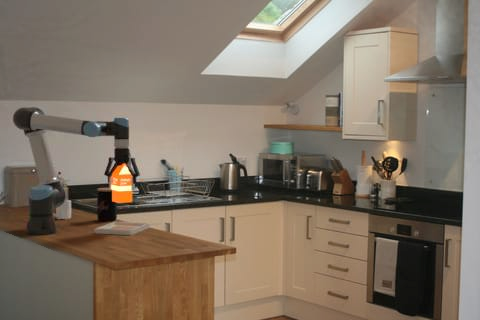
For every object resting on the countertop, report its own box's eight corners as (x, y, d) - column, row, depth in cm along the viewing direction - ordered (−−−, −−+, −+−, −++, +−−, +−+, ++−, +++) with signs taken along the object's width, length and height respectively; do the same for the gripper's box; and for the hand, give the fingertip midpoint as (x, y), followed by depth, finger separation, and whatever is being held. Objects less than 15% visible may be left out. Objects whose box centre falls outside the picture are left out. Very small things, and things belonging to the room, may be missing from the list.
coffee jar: (93, 220, 392) (93, 188, 391) (109, 218, 400) (108, 187, 399) (105, 222, 385) (104, 190, 384) (120, 220, 393) (120, 188, 392)
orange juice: (118, 203, 353) (118, 163, 352) (111, 201, 360) (111, 162, 359) (132, 202, 357) (132, 163, 356) (125, 200, 365) (125, 162, 363)
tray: (131, 235, 346) (131, 230, 346) (94, 233, 351) (94, 228, 351) (149, 227, 369) (149, 223, 369) (114, 225, 374) (114, 221, 374)
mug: (53, 220, 391) (53, 202, 390) (47, 218, 397) (47, 201, 396) (73, 218, 398) (73, 200, 397) (67, 217, 404) (67, 199, 404)
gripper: (146, 147, 358) (146, 189, 359) (103, 146, 364) (104, 188, 365) (140, 148, 350) (140, 191, 352) (97, 147, 356) (97, 189, 358)
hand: (122, 189), depth 358 cm, fingers closed on orange juice, 11 cm apart
